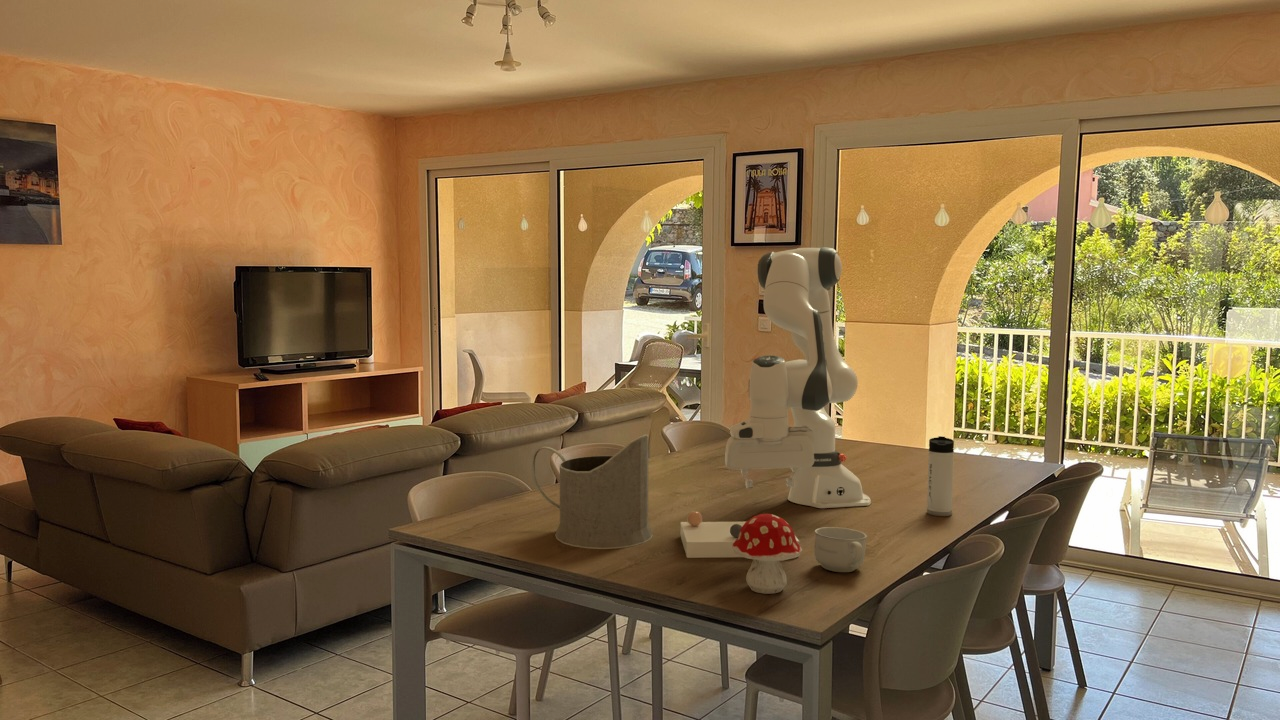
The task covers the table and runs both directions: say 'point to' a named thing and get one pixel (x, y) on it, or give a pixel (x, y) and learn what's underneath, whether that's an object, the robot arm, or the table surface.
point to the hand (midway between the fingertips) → (769, 487)
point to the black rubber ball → (735, 530)
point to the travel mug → (940, 476)
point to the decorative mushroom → (766, 551)
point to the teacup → (839, 548)
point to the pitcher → (603, 498)
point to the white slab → (709, 539)
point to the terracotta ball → (694, 518)
